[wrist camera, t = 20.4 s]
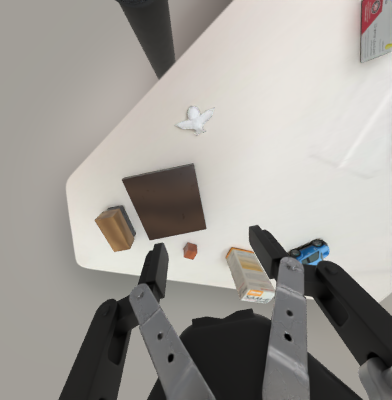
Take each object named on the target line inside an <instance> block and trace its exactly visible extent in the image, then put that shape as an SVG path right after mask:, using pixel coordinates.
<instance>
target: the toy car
mask: <svg viewBox="0 0 392 400" xmlns="http://www.w3.org/2000/svg"><path fill="white" fill-rule="evenodd" d="M299 252H300V253H299ZM293 253H294V254H293ZM328 255H329V247H328V245H327V243H326V242H324V241H323V240H320V241H319V240H314V241H312V244H311V245H309V246H307V247H304V248H302V249H300V250H299V251H298V250H296V249H293V250H291V256H290V257H291V258H294V259H296V260H298V261H299V262H300V263H303V264H310V265H317V263H318V262H319V261H323V259H324V258H325V257H327V256H328Z"/></svg>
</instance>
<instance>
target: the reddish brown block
mask: <svg viewBox="0 0 392 400" xmlns="http://www.w3.org/2000/svg"><path fill="white" fill-rule="evenodd" d="M196 254H197V245H194V244H191V243H187V245H186V246H185V248H184V257H185V258H188V259H192V260H193V259H194V257H195V256H196Z"/></svg>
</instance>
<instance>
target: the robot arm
mask: <svg viewBox="0 0 392 400" xmlns="http://www.w3.org/2000/svg"><path fill="white" fill-rule="evenodd" d="M249 242H250V245H251V247H252V249H253V250H254V252H255V254H256V256H257V258H258V259H259V261H260V263H261V265H262V266H263V268H264V270H265V272H266V273H267V275H268V277H269V279H275V280H276V282H277V283H276V290H275V297H274V304H273V310H272V317H271V320H269V319H268V318H266V317H264V316H262V315H259V314H255V313H253V310H252V309H246V310H240V311H236V312H235V313H233V314H231V315H229V316H227V317H225V318H223V319H220V318H213V317H202V318H196V319H192V325H191V326H189V327H188V328H186V329H185V330H184V331H183V332H182V334H181V335H180V336H179V337H178V335H177V333H176V332H175V330H174V328H173V327H172V325H171V323H170V322H169V320H168V318H167V317H166V315H165V313H164V312H163V310H162V308H161V307H160V305H159V301H160V299H161V298H164V297H165V288H166V279H167V270H168V261H169V257H168V253H167V250H166V248H165V245H164V243H158V244H155V245H154V248H153V250H152V251H149V253H148V254H147V256H146V258H145V262H144V265H143V269H142V272H141V276H140V279H139V282H138V285H137V286H136V287H135V288H134V289H133V290H132V292H131V293H130V295H128V296H127V297H125V298H123V299H121V300H119V301H116V300H114V299H109V300H107V301H105V302H104V303H102V305H100V307H99V308H98V309H97V311H96V313H95V315H94V318H93V320H92V322H91V325H90V327H89V329H88V332H87V334H86V336H85V339H84V341H83V343H82V346H81V348H80V350H79V353H78V355H77V358H76V360H75V362H74V365H73V367H72V370H71V371H70V374H69V376H68V379H67V381H66V384H65V386H64V388H63V390H62V393H61V395H60V397H59V400H117V396H118V391H119V387H120V382H121V377H122V372H123V367H124V363H125V358H126V353H127V348H128V344H129V339H130V335H131V330H132V329H133V328H134V327H136V326H138V325H140V327H139V329H140V332H141V335H142V337H143V340H144V342H145V344H146V347H147V349H148V352H149V354H150V357H151V359H152V362H153V364H154V367H155V369H156V372H157V374H158V379H157V381H156V383H155V385H154V387H153V389H152V391H151V393H150V395H149V397H148V399H147V400H363V399H362V398H360V397H359V396H358V395H357V394H356V393H355V392H354V391H353V390H351V389H350V388H349V387H348V386H347V385H345V384H344V383H343V382H342V381H341V380H340V379H338V378H337V377H336V376H335V375H334V374H333V373H332V372H330V371H329V370H328V369H327V368H326V367H325V366H323V365H322V364H321V363H320V362H319V361H318V360H317V359H315V358H314V357H313V356H312V355H311V354H310V353H308V352H307V314H306V312H307V311H306V310H307V308H306V297H304V295H305V296H311V297H313V298H314V300H315V301H316V303H317V304H318V305H319V307H320V308H321V310H322V311H323V313H324V314H325V316H326V317H327V318H328V320H329V321H330V323H331V324H332V325H333V327H334V328H335V330H336V331H337V333H338V334H339V336H340V337H341V338H342V340H343V341H344V343H345V344H346V346H347V347H348V349H349V350H350V351H351V353H352V354H353V356H354V357H355V359H356V360H357V362H358V363H359V365H360V367H359V371H358V373H359V378H360V381H361V383H362V385H363V387H364V388H365V390H366V392H367V394H368V397H369V400H392V316H391V315H390V314H389V313H388V312H387V311H386V310H385V309H384V308H383V307H382V306H381V305H380V304H379V303H378V302H377V301H376V300H375V299H373V298H372V297H371V296H370V295H369V294H368V293H367V292H366V291H365V290H364V289H363V288H362V287H361V286H360V285H359V284H358V283H357V282H356V281H355V280H354V279H353V278H352V277H351V276H350V275H349V274H348V273H347V272H345V271H344V270H343V269H342V268H341V267H340V266H339V265H337V264H335V263H333V262H330V261H319V262H318V263H317V265H310V264H303V263H300V262H299V261H298V260H296V259H294V258H291V257H290V256H289V255H288V254H287V252H286V251H285V250H284V249H283V247H282V246H281V245H280V244H279V243H278V242H277V240H276V239H275V238H274V236H273V235H272V234H271V233H270V232H268V231H267V230H262V229H261V228H260V227H259V226H258V225H255V226H250V227H249Z"/></svg>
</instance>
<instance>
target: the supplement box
mask: <svg viewBox="0 0 392 400" xmlns="http://www.w3.org/2000/svg"><path fill="white" fill-rule="evenodd" d="M226 259H227V262H228V265H229V268H230V271H231V274H232V277H233V280H234V283H235V286H236V289H237V292H238V294H239V297H240V300H243V301H252V302H260V303H268V302H269V301H270V300H271V299H272V298H273V297H274V296H275V289H274V288H273V286H272V284H271V282H270V281H269V279H268V277H267V275H266V274H265V272H264V270H263V268H262V267H261V265H260V263H259V261H258V260H257V258H256V256H255V254H254V253H253V252H251V251H246V250H241V249H237V248H231V250H230V251H229V253H228V254H227V256H226Z"/></svg>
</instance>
